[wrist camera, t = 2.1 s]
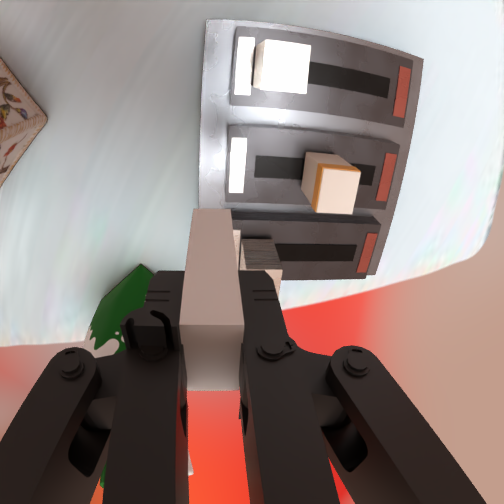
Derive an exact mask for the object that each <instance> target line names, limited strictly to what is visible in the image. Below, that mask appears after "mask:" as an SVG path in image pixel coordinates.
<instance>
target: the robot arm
mask: <svg viewBox="0 0 504 504" xmlns="http://www.w3.org/2000/svg"><path fill="white" fill-rule="evenodd" d="M120 328H121V331H122V335H123V339H124V342H125V346H126V349H125V350H123V351H121V352H119V353H116V354H113V355H108V356H103V357H98V358H94V356H93V355H92V353H91V352H89V351H87V350H86V349H84V348H78V347H72V348H67V349H64V350H62V351H61V352H59V353H57V354H56V355H55V356H54V357H53V358H52V359H51V360H50V362H49V363H48V365H47V366H46V368H45V369H44V371H43V372H42V374H41V376H40V377H39V378H38V380H37V382H36V383H35V385H34V386H33V388H32V389H31V391H30V393H29V394H28V396H27V397H26V399H25V401H24V402H23V404H22V405H21V407H20V409H19V410H18V412H17V414H16V415H15V417H14V419H13V420H12V422H11V424H10V426H9V427H8V429H7V431H6V433H5V434H4V436H3V438H2V440H1V442H0V504H90V501H91V498H92V496H93V493H94V491H95V488H96V486H97V484H98V481H99V478H100V476H101V474H102V471H103V469H104V466H105V464H106V472H105V481H104V491H103V503H102V504H189V483H188V404H187V390H189V391H190V390H191V391H194V390H195V391H221V390H222V391H224V390H226V391H227V390H239V386H240V396H241V398H240V409H239V410H240V411H239V419H241V424H242V433H243V443H244V452H245V462H246V471H247V480H248V487H249V497H250V504H340V502H339V498H338V494H337V490H336V486H335V482H334V478H333V474H332V470H331V466H330V463H329V459H330V461H331V463H332V465H333V466H334V468H335V470H336V472H337V473H338V475H339V477H340V478H341V480H342V482H343V484H344V485H345V487H346V489H347V491H348V492H349V494H350V495H351V497H352V499H353V501H354V502H355V504H486V502H485V501H484V499H483V498H482V497H481V495H480V494H479V492H478V491H477V489H476V488H475V487H474V485H473V484H472V482H471V481H470V480H469V478H468V477H467V476H466V474H465V473H464V471H463V470H462V469H461V467H460V466H459V464H458V463H457V462H456V460H455V459H454V457H453V456H452V455H451V453H450V452H449V451H448V450H447V448H446V447H445V445H444V444H443V443H442V441H441V440H440V439H439V437H438V436H437V435H436V433H435V432H434V431H433V429H432V428H431V427H430V425H429V424H428V423H427V421H426V420H425V419H424V417H423V416H422V415H421V413H420V412H419V411H418V409H417V408H416V407H415V405H414V404H413V403H412V402H411V400H410V399H409V398H408V397H407V395H406V394H405V393H404V391H403V390H402V389H401V387H400V386H399V385H398V384H397V382H396V381H395V380H394V378H393V377H392V376H391V375H390V373H389V372H388V371H387V370H386V368H385V367H384V366H383V364H382V363H381V362H380V361H379V359H378V358H377V357H376V356H375V355H374V354H373V353H372V352H370V351H369V350H366V349H364V348H362V347H358V346H344V347H341V348H340V349H338V350H336V351H335V352H334V354H333V355H332V356H327V355H321V354H316V353H311V352H308V351H305V350H303V349H301V348H299V347H298V346H297V344H296V343H295V341H294V340H293V339H291V338H290V337H289V335H288V333H287V329H286V325H285V322H284V318H283V315H282V310H281V307H280V303H279V301H278V295H277V292H276V288H275V284H274V281H273V279H272V278H271V276H270V275H269V274H268V273H267V272H266V271H265V270H238V269H237V260H236V252H235V243H234V235H233V226H232V217H231V209H193V215H192V222H191V229H190V236H189V244H188V251H187V259H186V267H185V271H158V272H157V273H156V274H155V275H154V276H153V277H152V278H151V279H150V282H149V286H148V290H147V294H146V298H145V302H144V306H143V307H142V308H139V309H136V310H133V311H131V312H130V313H129V314H127V315H126V316H125V317H124V318H123V320H122V321H121V323H120ZM328 458H329V459H328ZM106 461H107V463H106Z"/></svg>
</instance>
